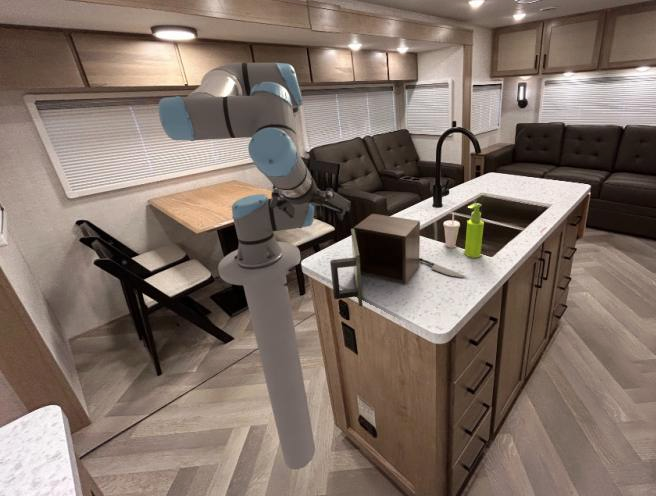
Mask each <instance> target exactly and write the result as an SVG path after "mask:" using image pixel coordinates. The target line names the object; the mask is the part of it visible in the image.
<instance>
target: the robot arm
mask: <svg viewBox="0 0 656 496" xmlns="http://www.w3.org/2000/svg"><path fill="white" fill-rule="evenodd" d="M301 106H303V99H302V94H301V90H300V85H299V82H298V77H297V74H296V71H295V68H294V67H293V65H291V64H290V63H282V62H231V63H226V64H223V65H220V66H217V67H215V68H213V69H210V70H209V71H207V72H206V73H205V74H204V75H203V76H202V79H201V81H200V85H199V86H197V88H196V89H194V90H193V91H192V92H191V93H189V95H187V96H179V95H176V96H171V97H163V98H161V99H160V100H159V102H158V109H157V110H158V117H159V121H160V124H161V126H162V129H163V131H164V133H165V134H166V136H167V137H168V138H169V139H171V140H173V141H190V142H195V141H208V140H224V139H225V140H226V139H244V138H246V139H247V138H251V139H250V141H249V143H248V147H247V149H248V155H249V157H250V159H251V160H252V162H253V164H254V166H256V168H257V170H258V171H259V172H260V173H261V174H263V175H264V176H265V177H266V178H267V180H268V181H269V182H270V183H271V184H272V189H271V195H270V196H271V198H268V197H269V196H267V195H266V194H264V193H257V194H251V195H247V196H244V197H241V198H239V199H238V200H236V201H234V202H233V203H232V206H231V215H232V219H233V223H234V228H235V232H236V236H237V240H238V247H237V249H238V253H237V255H236V256H235V257H234V258H235V259H237V263H238V265H239V266H240V267H241V268H244V269H260V268H264V267H268V266H270V265H273V264H275V263H276V262H278V261H279V260H280V259H281V258H282V255H283V254H282V249H281V247H280V246H279V244H278V242H279V241H278V240H277V239H276V237H275V233H274V232H280V231H287V230H294V229H295V230H296V229H302V228H307V227H311V226H312V225H313V223H314V220H315V219H314V218H315V217H314V216H315V206H316V207H319V206H322V207H326V208H327V209H331V210H333V211H335V214H336V216H337V218H338V220H339V221H344V215H345V214H346V213H347V212H351V201H350V200H348V199H347V198H345V197H343V196H342V195H340V194H338V193H337V192H335V191H334V190H333V188H331V187H327V188H326V190H321V189H319V188H318V187H317V183H316V182H315V180H314V178H313V176H312V174H311V172H310V170H309V168H308V166H307V165H306V163H305V162H304V160H303V158H302V157H301V153H300V147H299V140H298V136H297V129H296V120H295V117H296V116H297V114H299V110H300V109H299V107H301Z"/></svg>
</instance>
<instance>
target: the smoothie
mask: <svg viewBox="0 0 656 496" xmlns="http://www.w3.org/2000/svg"><path fill="white" fill-rule="evenodd" d="M443 227H444V229H443V230H444V239H445V247H447V248H450V249H451V248H455V247H456V244H457V239H458V234H459V230H460V229H459V228H460V227H461V223H460V222H459V221H458V220H455V213H454V212H452V218H451V220H450V219H448V220H445V221H443Z"/></svg>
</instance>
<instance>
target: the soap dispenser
mask: <svg viewBox="0 0 656 496" xmlns="http://www.w3.org/2000/svg"><path fill="white" fill-rule="evenodd" d="M480 207H482V204H481V203H478V202H476V203H472V204H470V205H468V206H467V208H468V209H469V210H473V211H472V212H471V215H470V219H467V220H466V232H465V244H464V255H465V256H466V257H469V258H474V259H475V258H479V257H481V254H482V244H483V234H484V227H485V225H484V224H485V222H484V221H483V220H482V213H481V211H480Z"/></svg>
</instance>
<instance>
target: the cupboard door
mask: <svg viewBox="0 0 656 496" xmlns="http://www.w3.org/2000/svg"><path fill="white" fill-rule="evenodd" d="M350 234H351V235H350V236H351V248H352V249H351V250H352V257H346V258H336V259H331V260H330V261H329V263H330V264H329V265H330V273H331V282H332V292H333V293H332V294H333V298H334V300H341V299H349V298H357V301H358V306H359V307H363V305H364V304H363V289H362V274H361V273H360V257H359V251H358V246H357V241H356V236H355V230H354V228H351V229H350ZM351 267H353V272H354V273H353V274H354V282H355V287H354V288H353V287H352V288H346V289H340V281H339V278H340V277H339V269H343V268H351Z"/></svg>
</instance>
